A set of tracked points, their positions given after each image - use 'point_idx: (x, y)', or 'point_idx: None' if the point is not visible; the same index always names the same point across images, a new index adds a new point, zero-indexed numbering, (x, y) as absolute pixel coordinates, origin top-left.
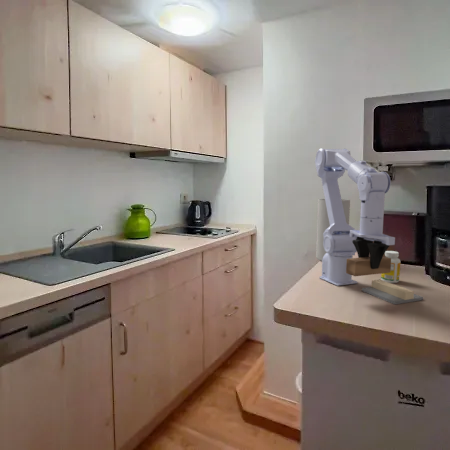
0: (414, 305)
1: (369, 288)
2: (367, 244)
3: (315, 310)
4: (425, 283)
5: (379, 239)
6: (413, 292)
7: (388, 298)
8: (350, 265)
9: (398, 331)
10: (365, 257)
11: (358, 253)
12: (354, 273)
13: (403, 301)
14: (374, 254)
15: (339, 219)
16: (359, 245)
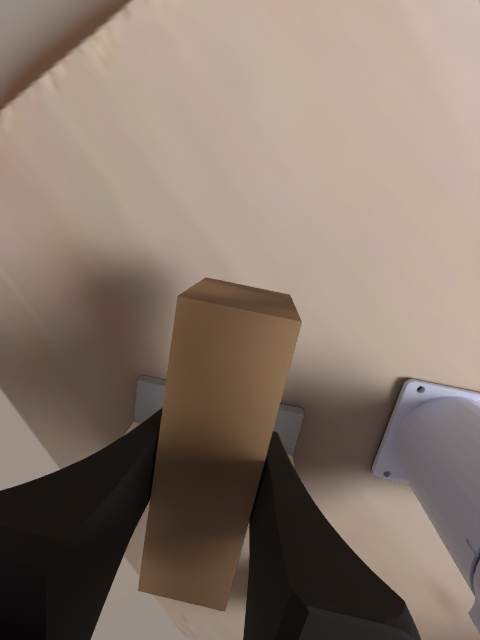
0: (109, 418)
1: (284, 434)
2: (63, 540)
3: (247, 17)
4: (231, 625)
5: None
6: None
7: None
8: (246, 297)
9: None
10: (245, 489)
11: (292, 488)
12: (207, 281)
13: (135, 412)
14: (74, 467)
15: None
16: (277, 564)
